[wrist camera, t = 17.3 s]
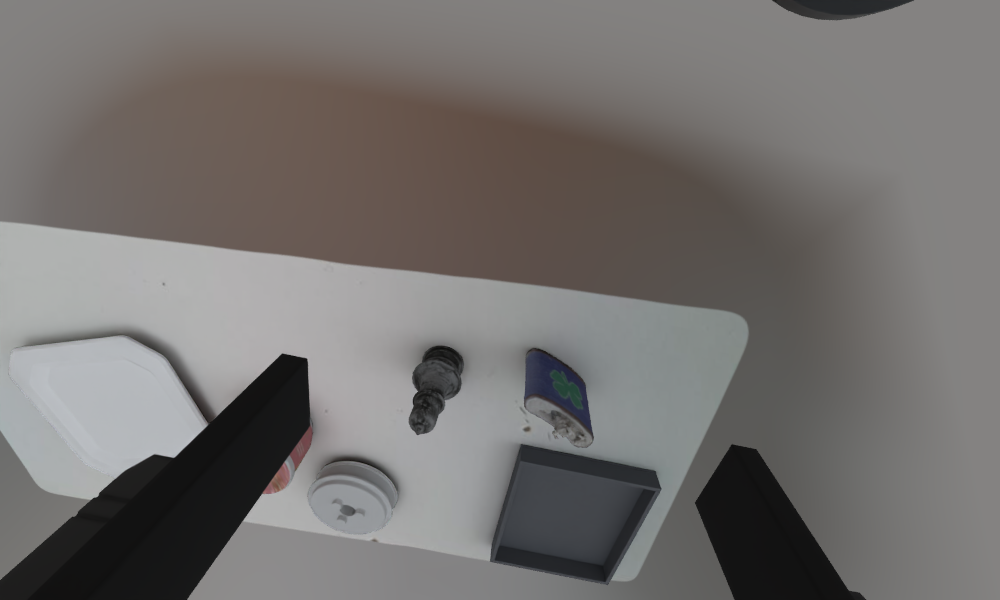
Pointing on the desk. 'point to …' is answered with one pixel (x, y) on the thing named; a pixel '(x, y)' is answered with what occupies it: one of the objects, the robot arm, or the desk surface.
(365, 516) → the grey pulley wheel
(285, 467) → the container
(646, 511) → the tray
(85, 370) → the plate
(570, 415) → the flask
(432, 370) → the chess piece
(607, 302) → the desk surface
